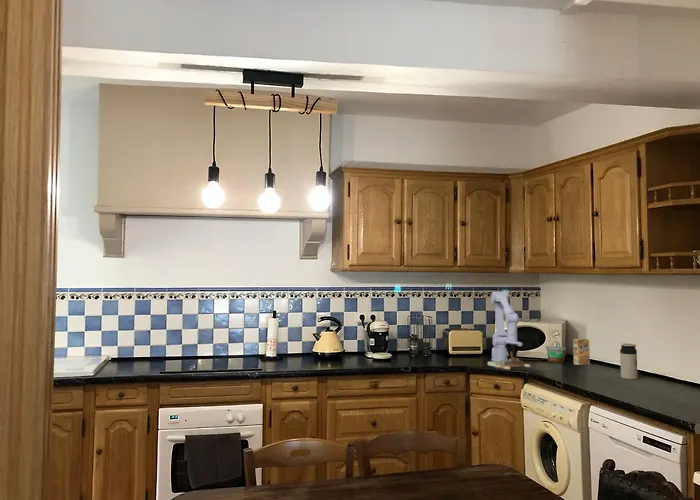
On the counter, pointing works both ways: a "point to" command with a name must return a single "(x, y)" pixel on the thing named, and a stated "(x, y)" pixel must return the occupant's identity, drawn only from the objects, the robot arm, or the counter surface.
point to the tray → (493, 363)
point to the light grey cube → (502, 362)
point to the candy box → (581, 351)
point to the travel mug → (628, 361)
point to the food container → (556, 354)
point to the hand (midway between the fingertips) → (512, 356)
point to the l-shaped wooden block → (514, 362)
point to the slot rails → (509, 367)
